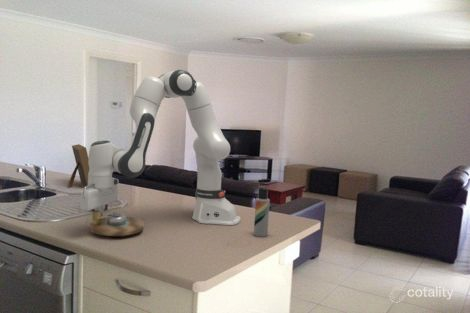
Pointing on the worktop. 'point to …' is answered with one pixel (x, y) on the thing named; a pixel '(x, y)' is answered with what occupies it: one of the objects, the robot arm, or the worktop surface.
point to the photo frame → (80, 165)
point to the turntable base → (117, 236)
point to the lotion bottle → (261, 213)
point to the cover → (116, 219)
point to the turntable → (103, 228)
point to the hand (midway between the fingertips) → (99, 216)
